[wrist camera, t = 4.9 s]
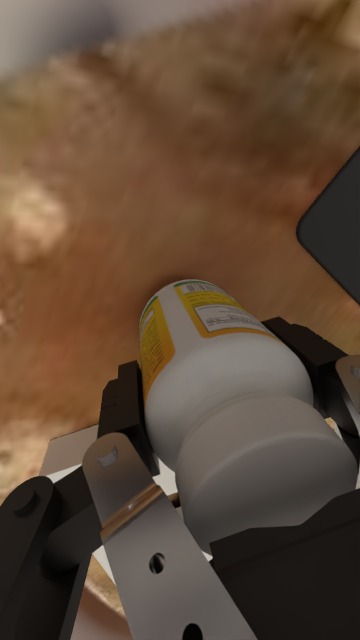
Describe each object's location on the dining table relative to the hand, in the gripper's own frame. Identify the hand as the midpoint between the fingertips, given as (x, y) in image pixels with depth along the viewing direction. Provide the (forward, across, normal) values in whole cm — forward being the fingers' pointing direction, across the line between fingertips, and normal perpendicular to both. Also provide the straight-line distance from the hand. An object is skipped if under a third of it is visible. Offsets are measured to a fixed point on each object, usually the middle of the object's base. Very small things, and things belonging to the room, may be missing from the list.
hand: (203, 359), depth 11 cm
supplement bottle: (+4, 0, 0) cm, 4 cm away
